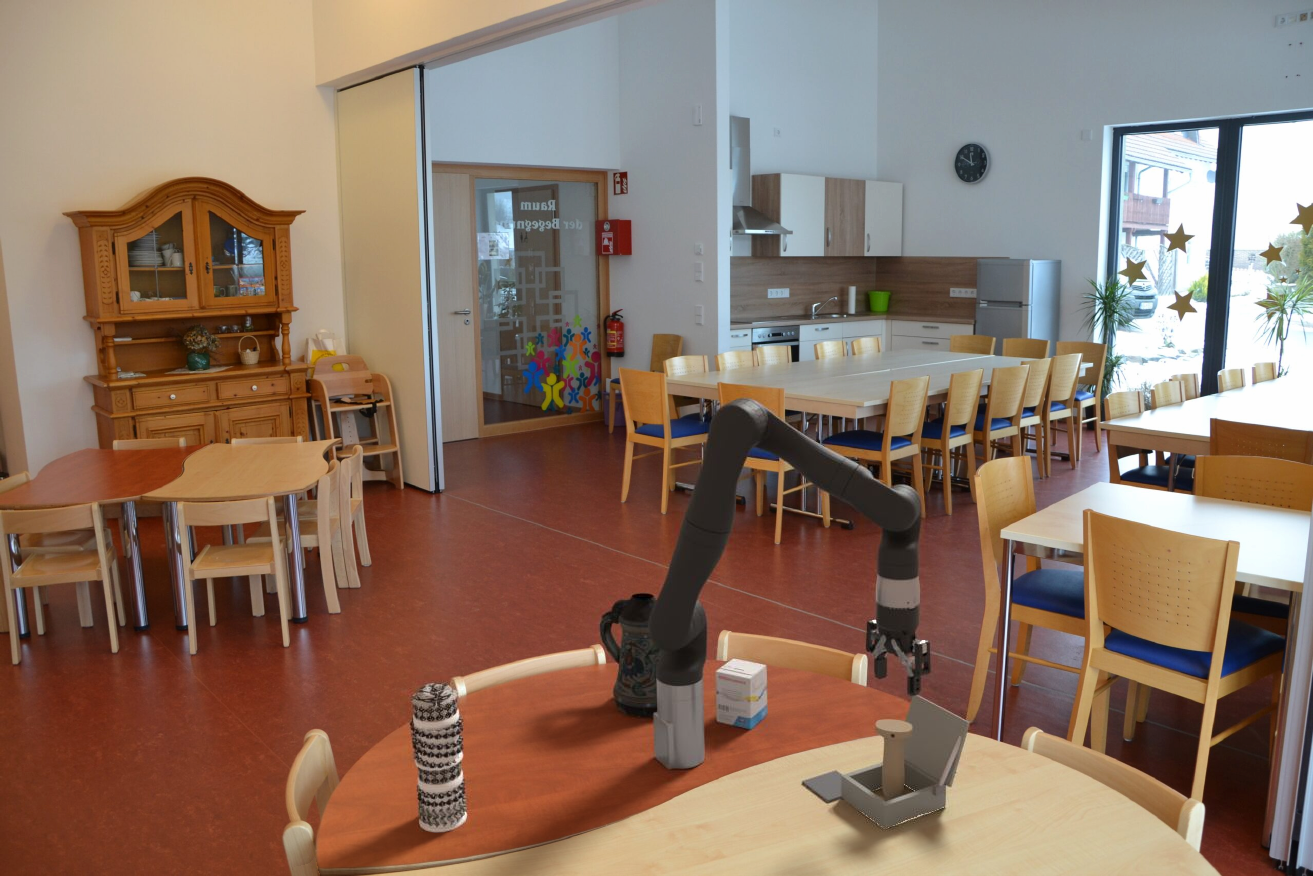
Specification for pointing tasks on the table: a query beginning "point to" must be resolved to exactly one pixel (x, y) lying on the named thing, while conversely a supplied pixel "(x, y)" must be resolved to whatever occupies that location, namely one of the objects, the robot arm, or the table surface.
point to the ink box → (741, 693)
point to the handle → (893, 755)
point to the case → (913, 767)
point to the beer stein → (633, 655)
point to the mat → (826, 785)
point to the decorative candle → (438, 758)
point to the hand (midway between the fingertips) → (896, 686)
